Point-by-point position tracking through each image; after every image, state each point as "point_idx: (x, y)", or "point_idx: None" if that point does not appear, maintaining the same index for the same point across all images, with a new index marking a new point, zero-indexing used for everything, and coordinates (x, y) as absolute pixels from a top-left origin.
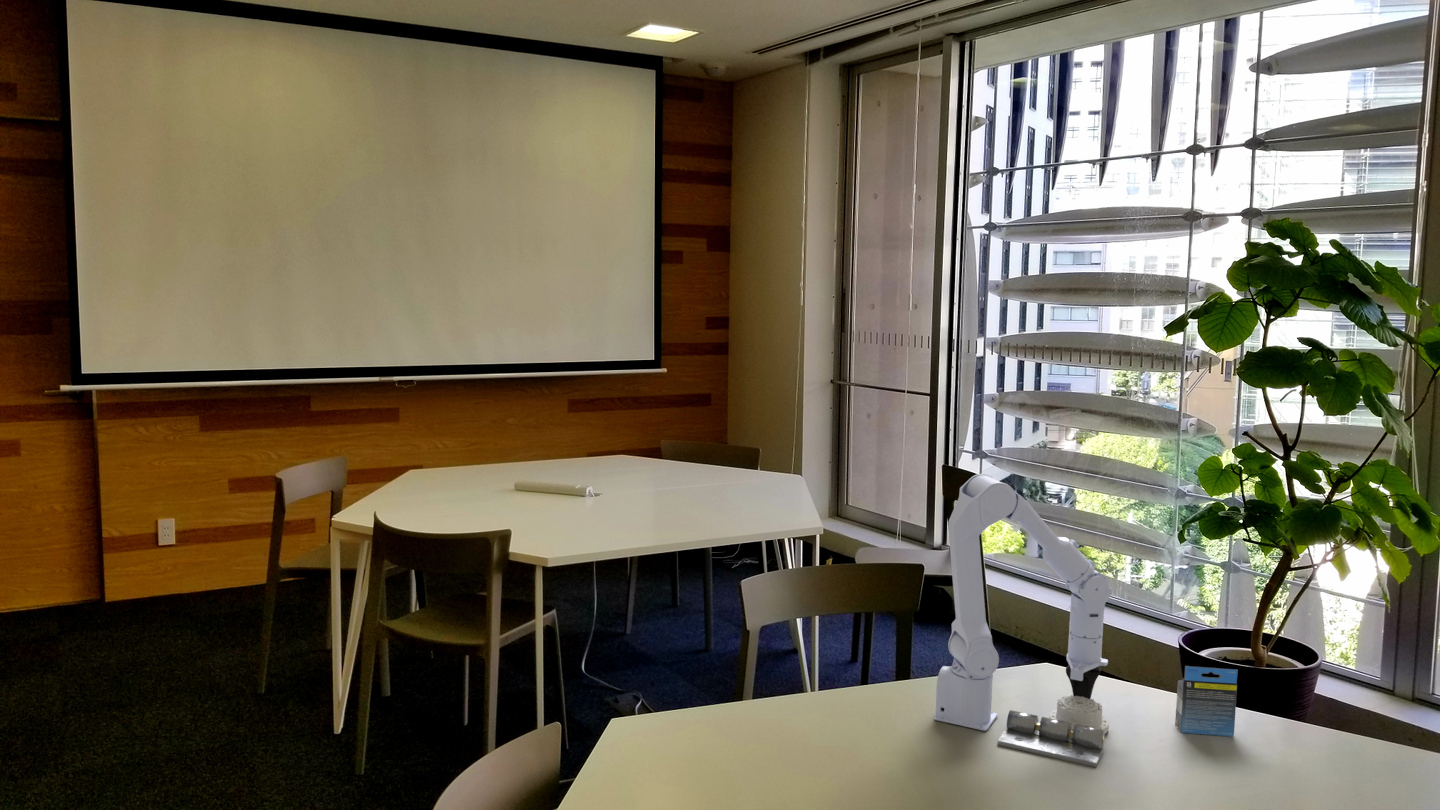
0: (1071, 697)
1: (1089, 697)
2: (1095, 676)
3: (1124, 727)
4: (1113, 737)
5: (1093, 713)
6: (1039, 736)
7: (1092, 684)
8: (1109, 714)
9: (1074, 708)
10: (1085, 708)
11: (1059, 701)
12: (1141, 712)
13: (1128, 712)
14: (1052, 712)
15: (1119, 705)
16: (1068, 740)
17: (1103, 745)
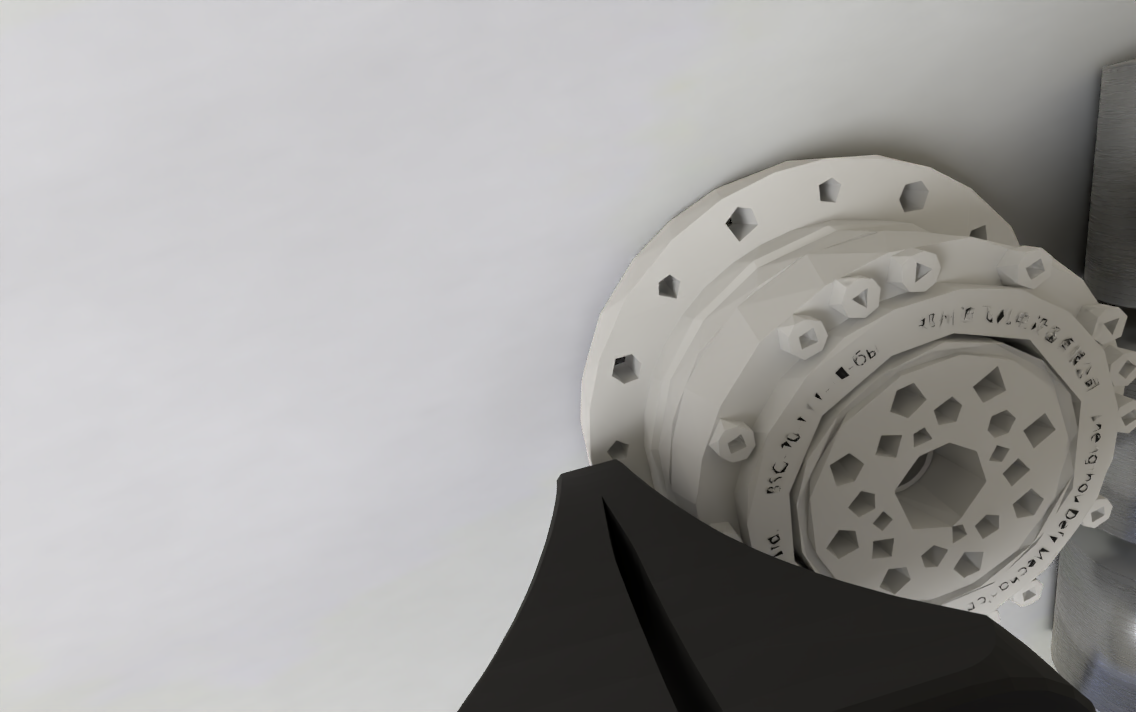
0: None
1: (665, 498)
2: (1082, 694)
3: (550, 95)
4: (827, 90)
5: (1063, 271)
6: None
7: (852, 585)
8: (364, 321)
9: (1105, 453)
10: (1061, 374)
11: None
12: (17, 100)
13: (153, 208)
14: None
15: (62, 345)
16: (1127, 313)
17: (1106, 66)
